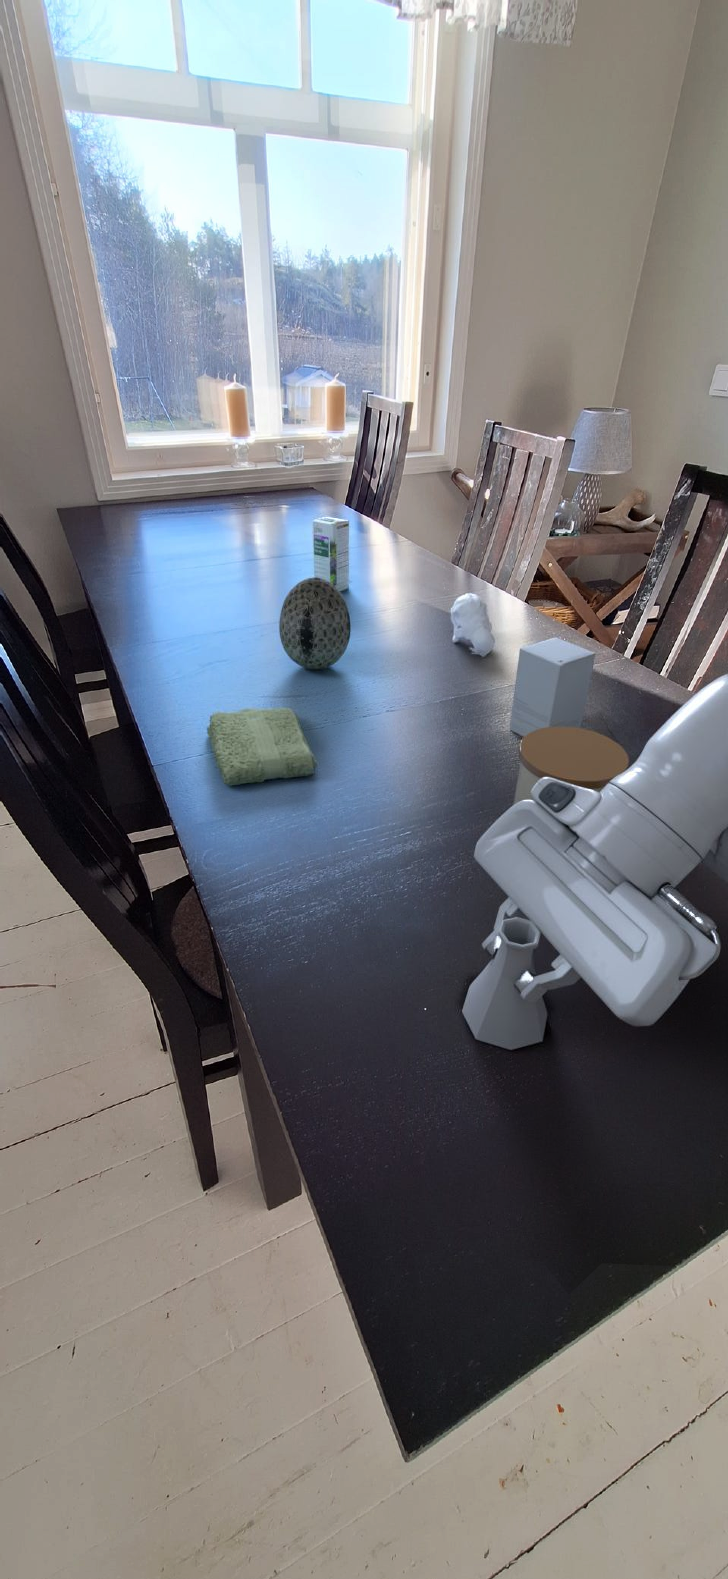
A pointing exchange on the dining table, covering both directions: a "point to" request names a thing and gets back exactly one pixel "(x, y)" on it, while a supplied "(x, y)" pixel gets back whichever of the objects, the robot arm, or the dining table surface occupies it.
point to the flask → (507, 992)
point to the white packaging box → (551, 686)
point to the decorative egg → (314, 624)
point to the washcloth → (259, 745)
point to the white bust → (472, 623)
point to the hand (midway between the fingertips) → (505, 974)
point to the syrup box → (331, 551)
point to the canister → (568, 759)
